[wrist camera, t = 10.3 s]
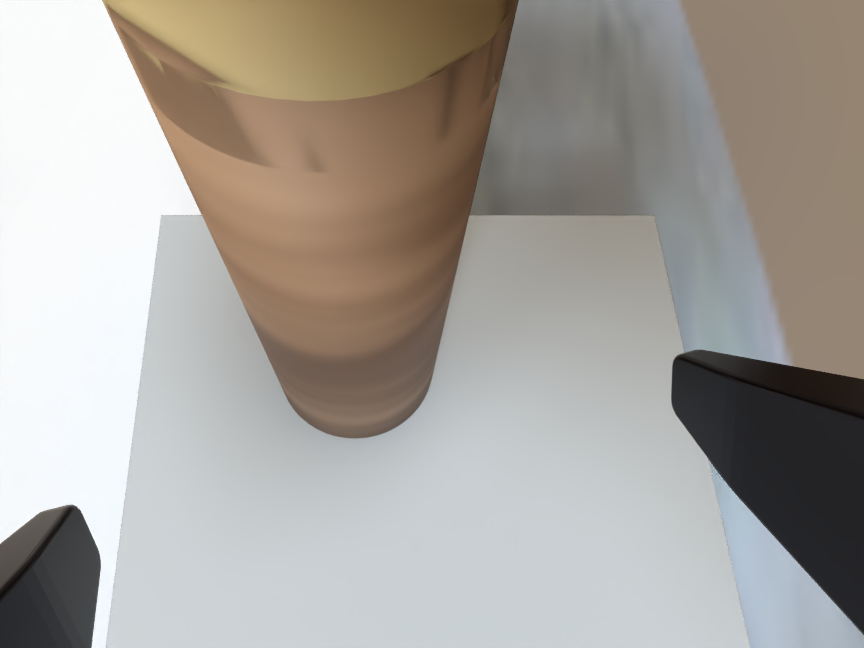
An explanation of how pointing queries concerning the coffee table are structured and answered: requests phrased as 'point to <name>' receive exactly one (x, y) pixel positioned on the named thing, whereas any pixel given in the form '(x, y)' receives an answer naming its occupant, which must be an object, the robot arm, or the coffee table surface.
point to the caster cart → (430, 468)
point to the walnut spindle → (330, 174)
